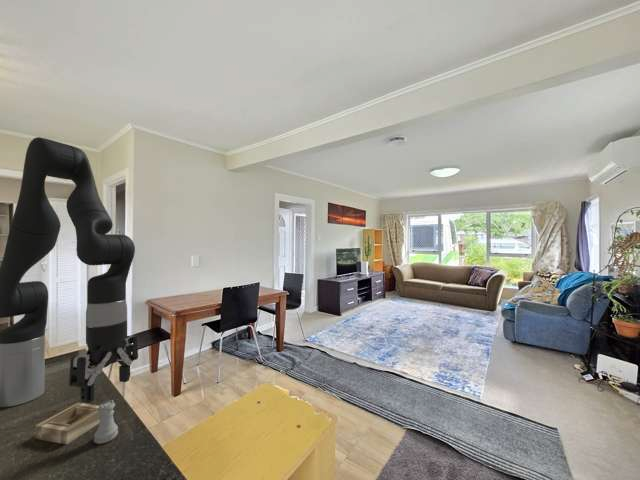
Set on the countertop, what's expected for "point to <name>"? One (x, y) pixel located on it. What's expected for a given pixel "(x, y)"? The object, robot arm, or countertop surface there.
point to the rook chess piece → (106, 423)
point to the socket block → (58, 424)
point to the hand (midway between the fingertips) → (107, 390)
